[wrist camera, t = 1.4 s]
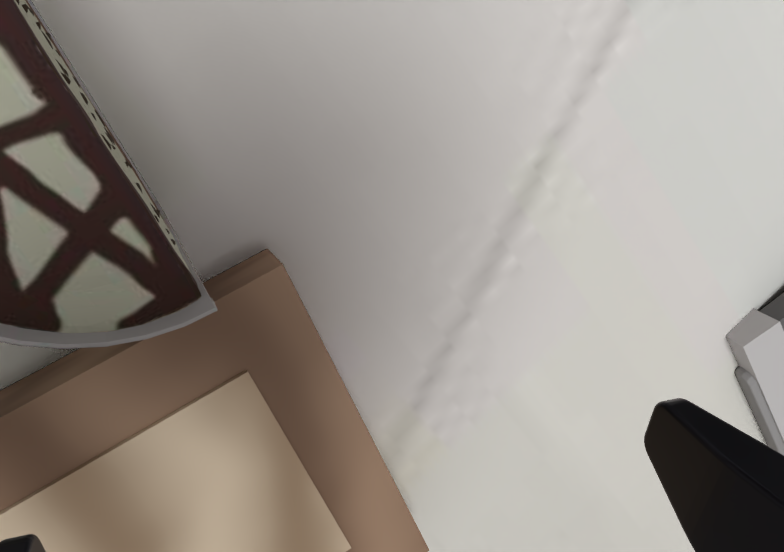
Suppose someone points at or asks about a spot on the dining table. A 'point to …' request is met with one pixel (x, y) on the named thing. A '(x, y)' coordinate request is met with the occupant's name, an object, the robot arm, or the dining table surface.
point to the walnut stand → (201, 439)
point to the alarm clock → (763, 367)
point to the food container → (77, 212)
